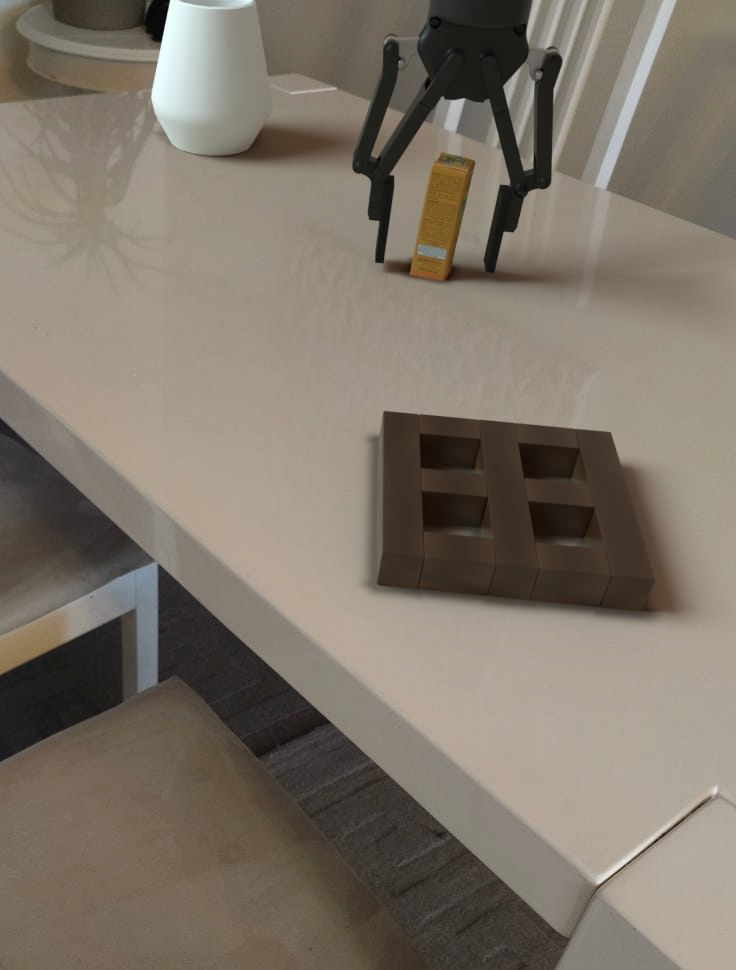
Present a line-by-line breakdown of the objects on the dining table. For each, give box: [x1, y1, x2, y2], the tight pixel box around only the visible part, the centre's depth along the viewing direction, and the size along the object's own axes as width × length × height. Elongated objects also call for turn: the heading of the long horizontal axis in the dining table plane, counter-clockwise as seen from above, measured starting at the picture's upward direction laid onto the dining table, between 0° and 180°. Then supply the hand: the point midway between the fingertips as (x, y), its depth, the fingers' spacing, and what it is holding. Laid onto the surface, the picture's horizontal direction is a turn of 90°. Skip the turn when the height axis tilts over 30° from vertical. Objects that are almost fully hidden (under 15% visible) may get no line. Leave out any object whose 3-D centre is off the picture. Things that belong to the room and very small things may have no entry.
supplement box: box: [409, 152, 476, 282], centre depth 84 cm, size 3×3×10 cm
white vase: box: [150, 0, 273, 157], centre depth 106 cm, size 13×13×14 cm
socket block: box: [375, 410, 656, 612], centre depth 61 cm, size 15×15×3 cm
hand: (434, 261), depth 86 cm, fingers open, 9 cm apart
